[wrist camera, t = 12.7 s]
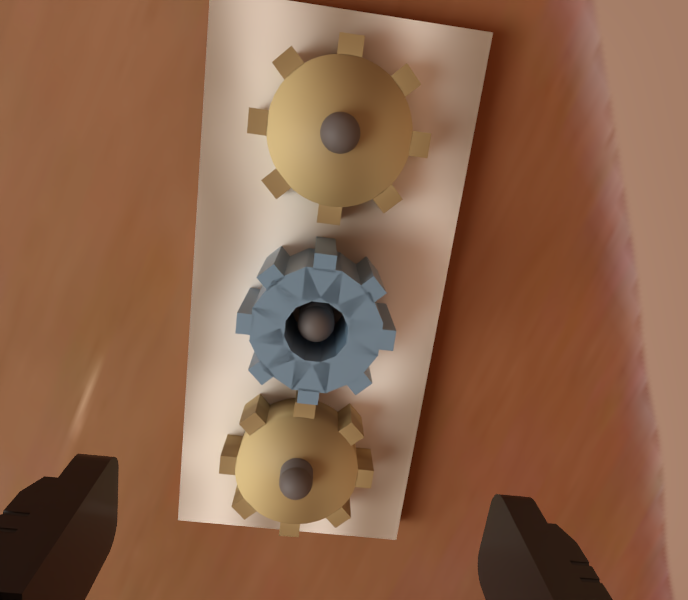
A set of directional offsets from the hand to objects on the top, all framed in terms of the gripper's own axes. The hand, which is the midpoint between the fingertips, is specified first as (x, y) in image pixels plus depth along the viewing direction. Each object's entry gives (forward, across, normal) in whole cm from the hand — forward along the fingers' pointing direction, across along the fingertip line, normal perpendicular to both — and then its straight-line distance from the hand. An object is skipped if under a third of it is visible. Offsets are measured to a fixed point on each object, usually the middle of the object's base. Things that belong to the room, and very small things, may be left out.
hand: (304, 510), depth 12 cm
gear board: (+17, 0, 0) cm, 17 cm away
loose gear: (+15, 0, 0) cm, 15 cm away
